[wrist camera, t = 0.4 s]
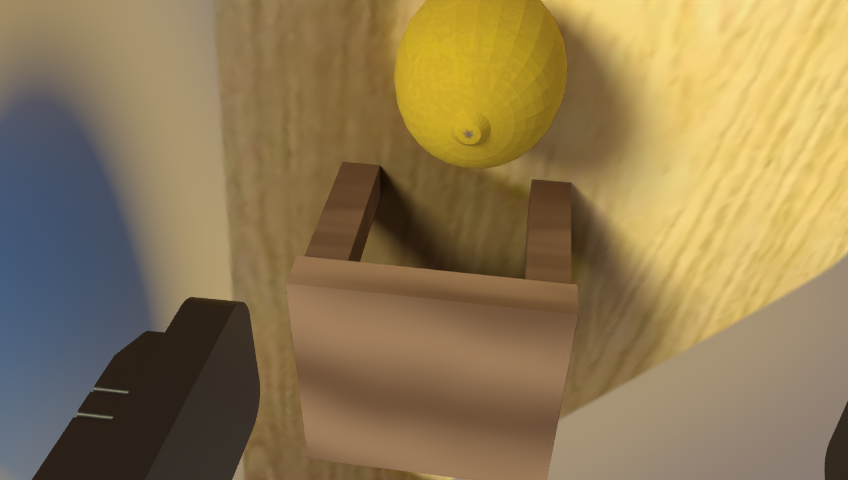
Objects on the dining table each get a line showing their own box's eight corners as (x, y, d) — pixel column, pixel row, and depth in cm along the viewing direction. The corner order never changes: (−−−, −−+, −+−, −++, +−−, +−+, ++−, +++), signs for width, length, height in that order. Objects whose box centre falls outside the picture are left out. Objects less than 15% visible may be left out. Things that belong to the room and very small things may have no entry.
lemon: (577, -49, 27) (581, 54, 21) (555, 96, 30) (552, 222, 24) (416, -62, 27) (372, 35, 21) (412, 82, 31) (373, 202, 25)
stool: (337, 157, 33) (285, 283, 27) (576, 179, 32) (578, 314, 26) (348, 325, 40) (308, 458, 34) (548, 348, 39) (545, 489, 33)
